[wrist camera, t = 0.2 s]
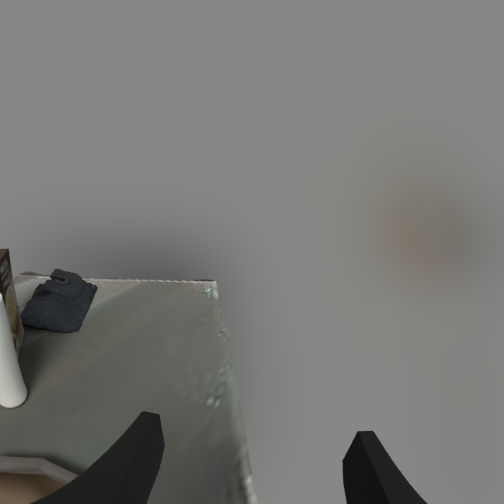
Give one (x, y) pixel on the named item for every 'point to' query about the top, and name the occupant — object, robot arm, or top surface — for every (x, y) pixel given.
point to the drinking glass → (9, 365)
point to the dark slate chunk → (59, 303)
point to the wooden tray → (30, 479)
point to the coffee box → (10, 299)
